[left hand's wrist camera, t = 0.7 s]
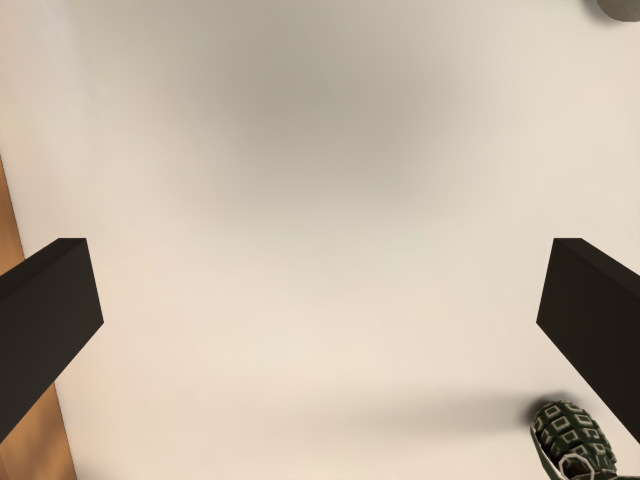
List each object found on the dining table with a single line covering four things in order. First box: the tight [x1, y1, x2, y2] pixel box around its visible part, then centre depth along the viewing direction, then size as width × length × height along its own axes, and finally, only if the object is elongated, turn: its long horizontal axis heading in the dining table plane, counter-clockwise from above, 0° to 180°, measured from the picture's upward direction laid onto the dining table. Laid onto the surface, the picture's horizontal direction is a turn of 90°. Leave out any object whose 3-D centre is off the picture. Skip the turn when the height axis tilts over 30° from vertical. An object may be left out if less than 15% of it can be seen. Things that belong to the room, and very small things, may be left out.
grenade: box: [530, 400, 640, 480], centre depth 41 cm, size 7×6×10 cm
